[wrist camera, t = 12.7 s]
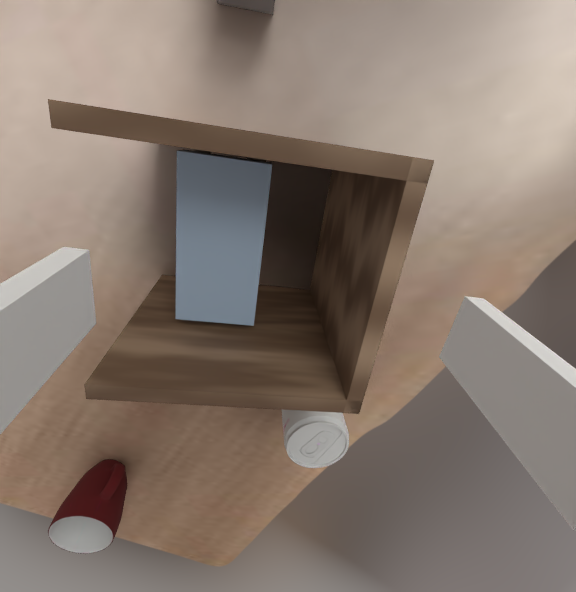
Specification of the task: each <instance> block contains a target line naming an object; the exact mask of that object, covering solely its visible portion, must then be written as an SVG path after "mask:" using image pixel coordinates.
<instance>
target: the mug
mask: <svg viewBox="0 0 576 592" xmlns="http://www.w3.org/2000/svg"><path fill="white" fill-rule="evenodd" d="M126 490H127V478H126V472H125V466H124V465H123V464H122V463H120V462H119V461H116V460H112V459H108V460H104V461H101V462H100V463H98V464H97V465H96V466H94V467H93V468H92V469H90V470H89V471H88V472H87V473H86V474H85V475H84V476H83V477H82V478H81V479H80V481H79V482H78V483H77V485H76V486H75V487H74V489H73V490H72V491H71V493H70V494H69V495H68V497H67V498H66V499H65V501H64V502H63V503H62V505H61V506H60V508H59V510H58V511H57V513H56V515H55V517H54V519H53V521H52V523H51V525H50V527H49V530H48V535H49V538H50V539H51V541H52V542H53V543H54V544H55V545H56V546H58V547H60V548H61V549H64V550H66V551H69V552H74V553H95V552H99V551H101V550H104V549H105V548H107V547H108V546H109V545H110V544H111V543H112V542H113V539H114V537H115V534H116V532H117V529H118V526H119V524H120V520H121V516H122V511H123V506H124V501H125V495H126Z"/></svg>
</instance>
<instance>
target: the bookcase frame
mask: <svg viewBox="0 0 576 592" xmlns="http://www.w3.org/2000/svg"><path fill="white" fill-rule="evenodd" d="M48 104H49V111H50V119H51V127H52V128H56V129H63V130H70V131H76V132H83V133H90V134H96V135H103V136H110V137H117V138H123V139H130V140H137V141H143V142H150V143H157V144H164V145H170V146H177V147H184V148H190V149H191V150H190V151H197V152H203V153H210V154H211V152H217V153H224V154H231V155H237V156H244V157H247V159H251V160H257V161H264V162H266V160H271V161H278V162H284V163H291V164H298V165H304V166H311V167H318V168H325V169H331V170H332V173H331V178H330V184H329V189H328V195H327V200H326V205H325V211H324V216H323V222H322V227H321V233H320V238H319V243H318V249H317V254H316V260H315V265H314V271H313V276H312V281H311V287H310V290H306V289H297V288H287V287H277V286H267V285H258V293H257V302H256V311H255V319H254V326H251V325H239V324H227V323H216V322H204V321H192V320H180V319H176V276H168V275H162V276H161V278H160V279H159V280H158V282H157V283H156V285H155V286H154V287H153V289H152V290H151V292H150V293H149V294H148V296H147V297H146V299H145V300H144V301H143V303H142V304H141V306H140V307H139V309H138V310H137V311H136V313H135V314H134V316H133V317H132V318H131V320H130V321H129V323H128V324H127V325H126V327H125V328H124V330H123V331H122V333H121V334H120V335H119V337H118V338H117V340H116V341H115V342H114V344H113V345H112V347H111V348H110V349H109V351H108V352H107V354H106V355H105V356H104V358H103V359H102V361H101V362H100V364H99V365H98V366H97V368H96V369H95V371H94V372H93V373H92V375H91V376H90V378H89V379H88V380H87V382H86V383H85V393H86V399H98V400H116V401H135V402H153V403H171V404H190V405H208V406H226V407H245V408H263V409H281V410H300V411H318V412H336V413H355V414H359V412H360V409H361V405H362V402H363V399H364V395H365V392H366V388H367V385H368V382H369V378H370V375H371V372H372V368H373V365H374V362H375V358H376V355H377V351H378V348H379V345H380V341H381V338H382V335H383V331H384V328H385V324H386V321H387V318H388V314H389V311H390V308H391V304H392V301H393V298H394V294H395V291H396V287H397V284H398V281H399V277H400V274H401V271H402V267H403V264H404V261H405V257H406V254H407V250H408V247H409V244H410V240H411V237H412V234H413V230H414V227H415V224H416V220H417V217H418V213H419V210H420V207H421V203H422V200H423V197H424V193H425V190H426V186H427V183H428V180H429V176H430V173H431V170H432V166H433V163H434V160H427V159H421V158H415V157H409V156H402V155H396V154H390V153H383V152H377V151H371V150H364V149H358V148H352V147H346V146H339V145H333V144H327V143H320V142H314V141H308V140H302V139H295V138H289V137H283V136H276V135H270V134H264V133H257V132H251V131H245V130H239V129H232V128H226V127H220V126H213V125H207V124H201V123H194V122H188V121H182V120H176V119H169V118H163V117H157V116H150V115H144V114H138V113H131V112H125V111H119V110H113V109H106V108H100V107H94V106H87V105H81V104H75V103H68V102H62V101H56V100H50V99H48Z"/></svg>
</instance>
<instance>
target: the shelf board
mask: <svg viewBox="0 0 576 592" xmlns="http://www.w3.org/2000/svg"><path fill="white" fill-rule="evenodd" d="M271 173H272V163H271V162H264V161H257V160H251V159H244V158H237V157H230V156H224V155H217V154H210V153H203V152H197V151H190V150H178V151H177V194H176V319H180V320H192V321H204V322H216V323H227V324H239V325H251V326H254V319H255V311H256V302H257V293H258V285H259V276H260V268H261V259H262V250H263V242H264V233H265V224H266V216H267V207H268V198H269V190H270V181H271Z"/></svg>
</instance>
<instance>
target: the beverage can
mask: <svg viewBox="0 0 576 592" xmlns="http://www.w3.org/2000/svg"><path fill="white" fill-rule="evenodd" d="M282 421H283V433H284V444H285V448H286V450H287V453H288V456H289V457H290V459H291V460H292V461H293V462H295V463H296V464H298V465H300V466H303V467H307V468H321V467H325V466H329V465H331V464H333V463H335V462H337V461H338V460H339V459H341V458H342V457H343V456H344V454H345V453H346V451H347V449H348V446H349V433H348V430H347V426H346V423H345V420H344V416H343V413H336V412H318V411H300V410H282Z"/></svg>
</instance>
